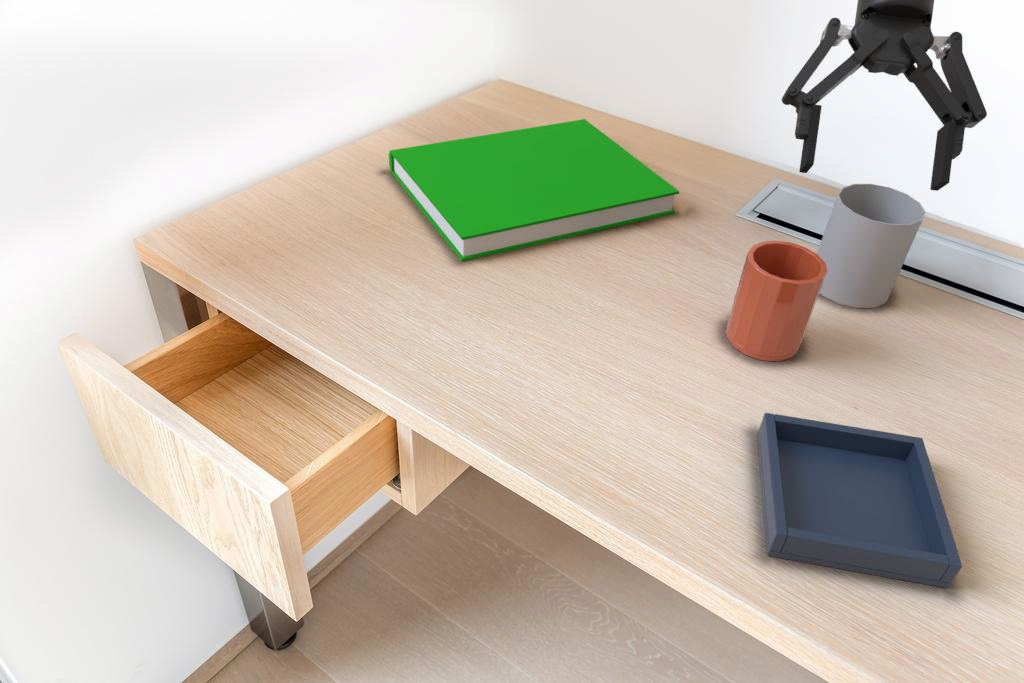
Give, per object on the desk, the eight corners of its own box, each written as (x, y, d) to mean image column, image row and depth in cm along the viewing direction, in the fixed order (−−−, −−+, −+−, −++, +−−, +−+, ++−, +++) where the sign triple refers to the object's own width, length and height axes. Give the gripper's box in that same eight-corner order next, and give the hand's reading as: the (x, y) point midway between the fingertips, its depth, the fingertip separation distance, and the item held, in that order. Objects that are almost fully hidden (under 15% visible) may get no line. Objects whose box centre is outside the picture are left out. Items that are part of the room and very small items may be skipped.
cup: (807, 296, 84) (836, 213, 78) (810, 257, 90) (838, 177, 84) (891, 315, 82) (928, 232, 76) (888, 274, 88) (923, 193, 82)
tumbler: (795, 322, 80) (822, 246, 75) (802, 366, 75) (831, 288, 69) (725, 312, 81) (746, 236, 75) (727, 355, 76) (750, 276, 70)
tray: (910, 459, 66) (922, 437, 64) (947, 588, 56) (962, 566, 55) (756, 434, 67) (764, 412, 66) (767, 555, 58) (776, 533, 56)
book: (674, 213, 96) (679, 191, 94) (461, 261, 85) (462, 237, 84) (580, 137, 111) (582, 117, 110) (389, 170, 101) (388, 148, 99)
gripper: (1000, 19, 88) (978, 204, 86) (771, -6, 91) (744, 172, 89) (1038, -19, 81) (1016, 182, 79) (787, -45, 83) (759, 148, 81)
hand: (872, 177), depth 84 cm, fingers open, 13 cm apart
